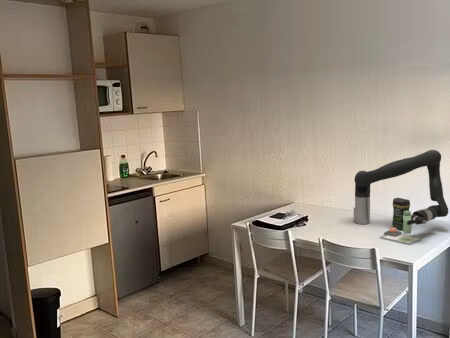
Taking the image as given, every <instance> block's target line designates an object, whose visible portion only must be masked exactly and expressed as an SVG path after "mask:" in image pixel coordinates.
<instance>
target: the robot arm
mask: <svg viewBox="0 0 450 338" xmlns="http://www.w3.org/2000/svg"><path fill="white" fill-rule="evenodd" d="M441 161H442V154H441V153H440V152H439V151H438V150H436V149H429V150H427V151H424V152H422V153H419V154H418V155H417V154H416V155H415V156H411V157H406V158H402V159H399V160H395V161H392V162H388V163H386V164H384V165H382V166H380V167H377V168H375V169H372V170H368V171H366V170H360V171H357V173H356V174H355V176H354V183H355V184H354V207H353V223H355V224H358V225H369V224H370V223H371V184H373V183H376V182H379V181H380V182H381V181H384V180H387V179H392V178H396V177H397V178H398V177H400V176H403V175H406V174H408V173H410V172H412V171H415V170H416V169H420V168H423V167H426V168H427V172H428V185H429V186H428V188H429V196H430V197H429V198H430V200H431V201H432V202H437V204H434V205H430V206H428V207H426V208H423V209H419V210H416V211H414V212H412V213H411V220H409V221H407V225H411V226H412V225H416V226H417V225H423V224H425V225H426V223H428V222H429V221H432V220H434V219H435V218H443V217H446V216H448V214H449V208H448V205H447V202H446V200H445V197H444V189H443V183H442V179H441V170H440V169H441ZM400 223H403V216H402V217H401V219H400Z"/></svg>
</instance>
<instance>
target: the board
mask: <svg viewBox="0 0 450 338" xmlns="http://www.w3.org/2000/svg"><path fill="white" fill-rule="evenodd" d="M402 232H403V231H399V230H397V233H389V230H387V231H384V232H383V233H384V234H383V235H381V236H380V237H379V239H381V240H386V241H390V242H395V243H399V244H403V245H408V246H410V245H413V244H415V243H417V242H419V241H422V240H423V237H419V236H414V235H411V234H405V233H402Z"/></svg>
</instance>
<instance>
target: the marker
mask: <svg viewBox="0 0 450 338" xmlns="http://www.w3.org/2000/svg"><path fill="white" fill-rule="evenodd" d="M411 215H412V211H411V210H409V211H403V230H402V232H403V233H402V234H406V235H411V233H412V224H411V225H407V221H409V220H411Z"/></svg>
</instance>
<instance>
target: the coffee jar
mask: <svg viewBox="0 0 450 338" xmlns="http://www.w3.org/2000/svg"><path fill="white" fill-rule="evenodd" d="M410 207H411V202H410V199H406V198H403V197H402V198H401V197H394V198H393V200H392V208H393V211H392V212H393V213H392V214H393V215H392V223H391V224H392V225H391V227H395V228H397V230H398V231H399V230H400V231H403V223H400V219H401V217H402V216H403V211H410Z"/></svg>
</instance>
